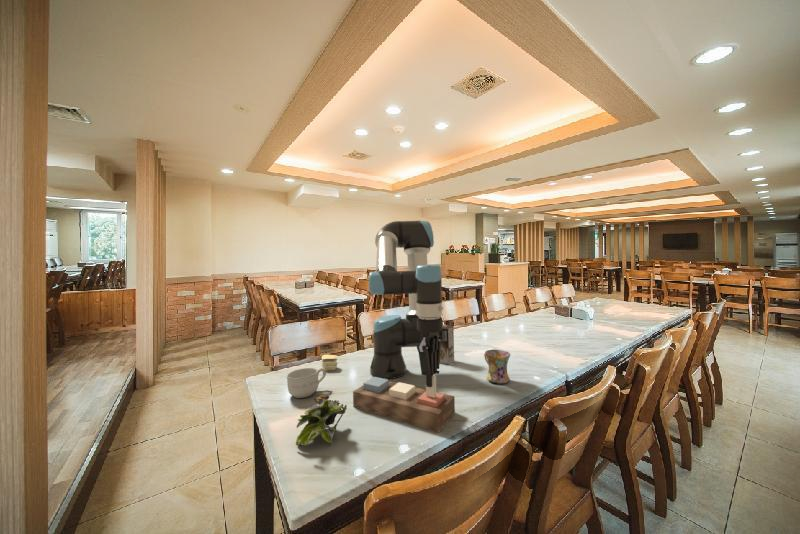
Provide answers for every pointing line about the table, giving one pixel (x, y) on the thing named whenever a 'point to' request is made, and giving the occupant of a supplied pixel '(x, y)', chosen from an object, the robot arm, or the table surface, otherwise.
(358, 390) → the key panel
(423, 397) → the key red
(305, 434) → the green leafy cluster
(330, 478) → the table surface
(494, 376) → the mug
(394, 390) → the key cream
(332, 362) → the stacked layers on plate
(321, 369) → the teacup
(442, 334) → the coffee box
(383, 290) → the robot arm
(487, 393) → the table surface
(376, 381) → the key blue
